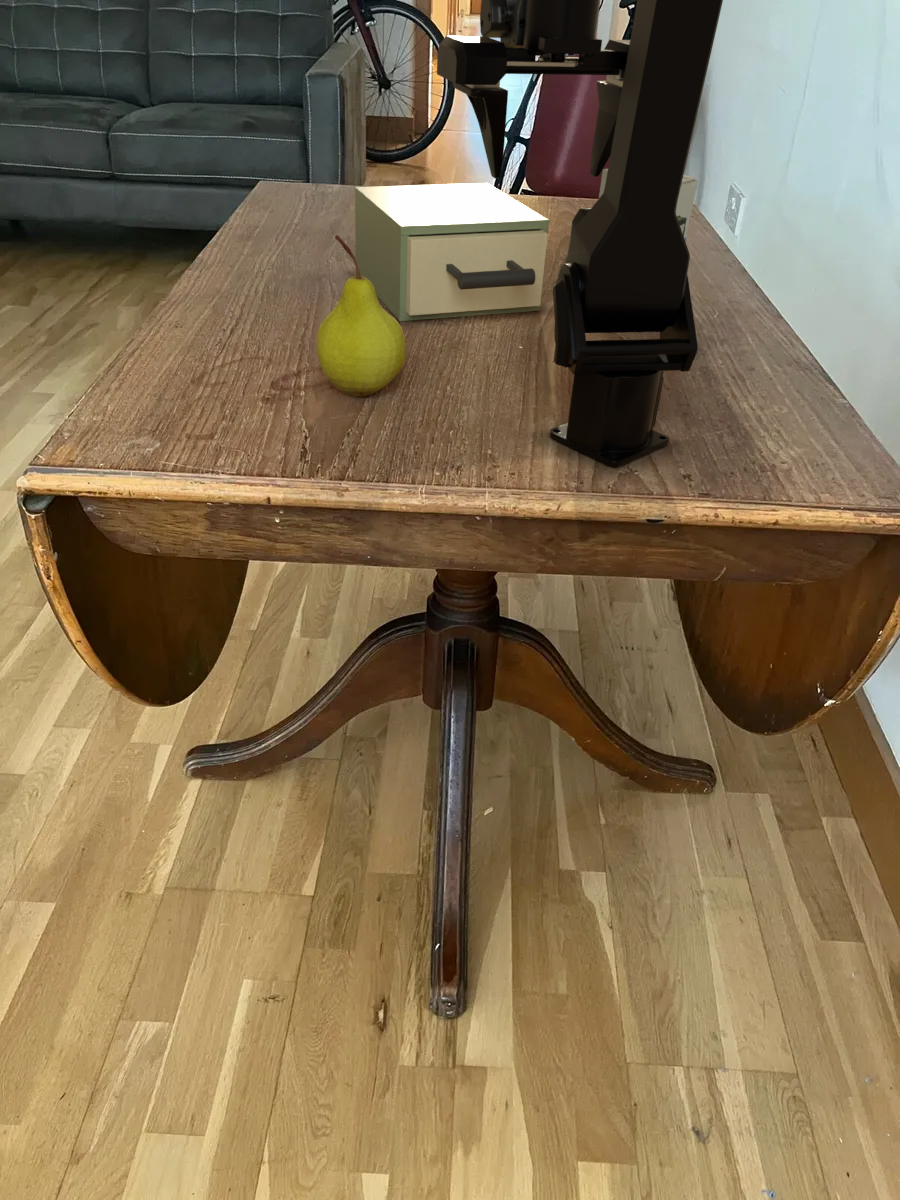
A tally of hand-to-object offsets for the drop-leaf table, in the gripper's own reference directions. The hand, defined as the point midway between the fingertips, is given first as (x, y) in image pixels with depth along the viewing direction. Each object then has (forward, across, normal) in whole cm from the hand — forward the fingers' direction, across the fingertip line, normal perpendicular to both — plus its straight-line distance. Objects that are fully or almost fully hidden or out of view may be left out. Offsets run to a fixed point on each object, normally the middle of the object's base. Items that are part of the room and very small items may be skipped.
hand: (545, 176), depth 81 cm
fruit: (+14, +19, +11) cm, 26 cm away
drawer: (+12, +5, -8) cm, 15 cm away
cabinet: (+13, +5, -12) cm, 19 cm away
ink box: (+14, -15, -9) cm, 22 cm away
